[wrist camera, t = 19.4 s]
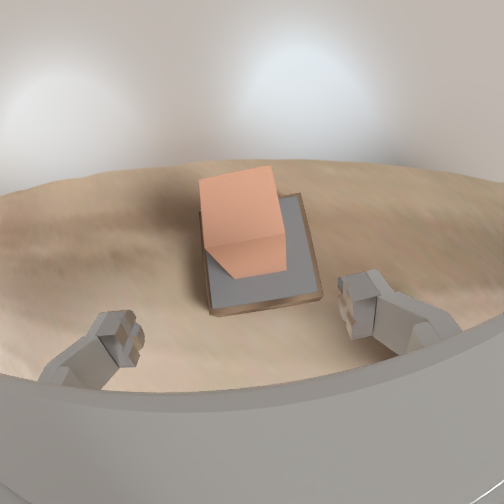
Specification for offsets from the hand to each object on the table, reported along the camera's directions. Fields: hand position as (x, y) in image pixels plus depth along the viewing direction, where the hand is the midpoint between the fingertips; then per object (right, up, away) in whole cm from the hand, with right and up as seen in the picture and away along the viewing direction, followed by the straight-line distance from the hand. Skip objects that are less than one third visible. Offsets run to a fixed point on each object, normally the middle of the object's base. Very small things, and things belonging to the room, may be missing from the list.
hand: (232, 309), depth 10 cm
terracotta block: (+1, +2, +17) cm, 17 cm away
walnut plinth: (+2, +1, +21) cm, 21 cm away
